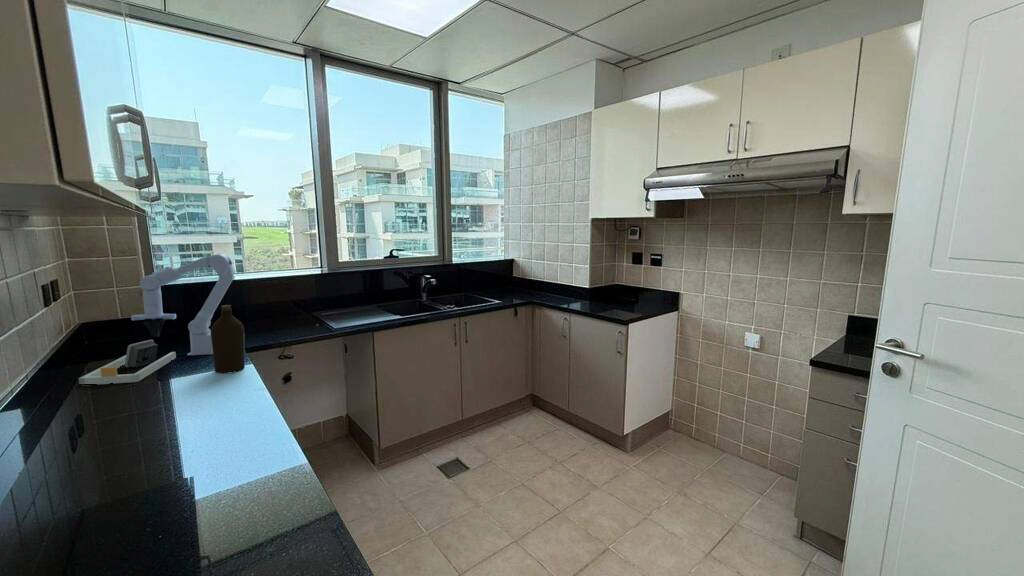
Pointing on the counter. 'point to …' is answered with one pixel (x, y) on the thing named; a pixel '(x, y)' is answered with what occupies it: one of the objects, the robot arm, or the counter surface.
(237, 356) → the olive oil
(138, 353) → the electrical switch
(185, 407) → the counter surface
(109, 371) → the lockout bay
